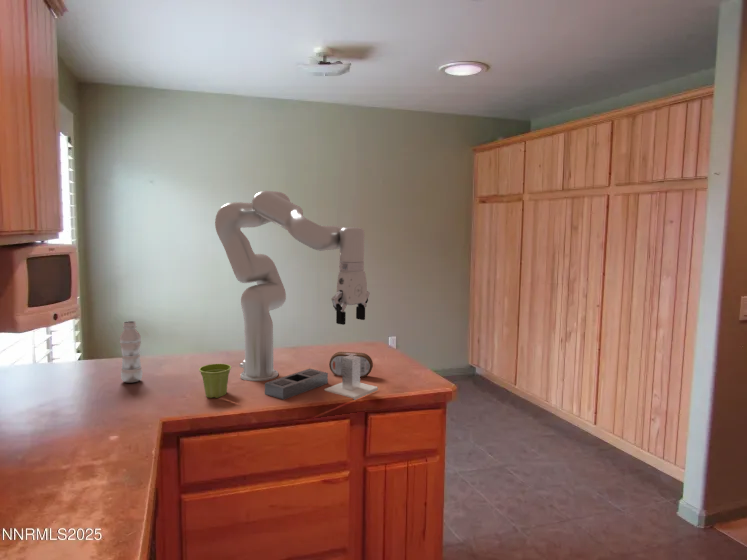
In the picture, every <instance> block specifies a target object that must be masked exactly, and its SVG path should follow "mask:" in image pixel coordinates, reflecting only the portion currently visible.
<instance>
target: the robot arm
mask: <svg viewBox="0 0 747 560" xmlns="http://www.w3.org/2000/svg"><path fill="white" fill-rule="evenodd" d="M251 200H252V201H251V202H244V201H243V202H242V201H239V202H237V201H235V202H227V203H225V204H223V205H221V207H220V208H219V209H218V211H216V215H215V219H214V221H215V222H214V226H215V231H216V235H217V236H218V238H219V240H220V242H221V245H222V246H223V248H224V251H225V253H226V256H227V259H228V261H229V264H230V267H231V269H232V271H233V274H234V275H235V278H236V280H237V281H239V283H241V284H251V283H256V284H254V285H251V286H249V287H247V288H246V289H245V290H244V291H243V292H242V294H241V298H240V305H241V309H242V314H243V326H244V330H243V331H244V333H243V334H244V360H242V362H241V363H239V367H240V368H243V372H241V373H240V379H241V380H244V381H248V382H249V381H250V382H265V381H269V380H270V381H271V380H274V379H277V377H278V375H279V372H278V370H277V369H274V324H273V319H272V316H271V314H270V311H273V310H276V309H280V307H282V306H284V304H285V302H286V300H287V294H286V289H285V285H284V283H283V281H282V278H281V277H280V274H279V271H278V268H277V267H276V265H275V264H276V263H275V262H274V261H273V259H272V258H271V257H269V256H268V255H266V254H264V253H255V252H254V249H253V248H252V245H251V243H250V241H249V238H248V237H247V236H246V235H245V234H244V232H242V230H241V228H243V229H244V228H257V227H261V226H263V225H266V224H268V223H273V224H275V225H277V226H279V227H281V228H283V229H285V230H286V231H287V232H288V233H289V234H290V236H291V237H292V238H293V239H294V240H296V241H298V242H299V243H301V244H303V245H305V246H307V247H309V248H311V249H313V250H316V251H320V252H321V251H331V250H333V251H334V250H338V249H339V272H338V276H337V283H336V293H335V294H334V295H333V296H332V297H331V303H332V306H333V308H334V311H336V314H335V316H336V318H335V319H336V320H335V321H336V324H337V325H343V326H344V325H346V311H345V310H346V308H347V306H353V305H354V306H355V305H357V306H355V307H356V309H355V310H356V311H355V312H356V313H355V319H357V320H361V321H365V320H366V307H367V303H368V302H369V297H370V292H369V291H368V285H367V275H366V271H365V230H364V229H363V228H362V227H359V226H357V227H356V226H345V227H344V226H339V225H321V224H320V225H319V224H318V223H316V222H314V221H312V220H310V219H308V218H306V217H305V216H304V211H303V208H302V207H301V206H299V205H297V204H295V203H293V202H291V199H290V198H289V196H287V195H286V194H285V193H283V192H281V191H273V190H262V191H259V192H257V193H256V194H255V195H254V196H253V197H252V199H251Z"/></svg>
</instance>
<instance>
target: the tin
mask: <svg viewBox="0 0 747 560" xmlns="http://www.w3.org/2000/svg"><path fill="white" fill-rule="evenodd" d="M349 355H353V356H358V357H360V377H361V378H365V377H367V376H369V374H370V373H371V372H372V370H373V367H374V363H373V359H372V357H371V356H370V355H368V354H367V353H366V352H365V353H364V352H350V351H338V352H335V353H333V355H332V356H331V357H330V359H329V362H328V363H329V370H330V371H331V373H332V374H333V375H335V376H342V363H343V357H345V356H349Z"/></svg>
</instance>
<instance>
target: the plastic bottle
mask: <svg viewBox="0 0 747 560" xmlns="http://www.w3.org/2000/svg"><path fill="white" fill-rule="evenodd" d="M122 327H123V331H122V332H121V333H120V336H119V344H120V349H121V358H122V359H121V370H120V379H121V380H122V382H124V383H127V384H128V383H130V384H131V383H137V382H140V381H141V380H142V378H143V369H142V365H141V344H142V343H141V342H142V336H141V334H140V332H139V331H137V323H136V321H134V320H128V321H123V325H122Z"/></svg>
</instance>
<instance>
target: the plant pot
mask: <svg viewBox="0 0 747 560" xmlns="http://www.w3.org/2000/svg"><path fill="white" fill-rule="evenodd" d="M231 370H232V365H230V364H227V363H211V364H206V365H203V366H201V367H199V368H198V371H199V372H200V375H201V376H202V380H203V381H202V384H203V388H204V394H205V396H206V398H209V399H212V398H216V399H219V398H221V397H222V396H225V395H226V394H227V391H228V382H229V374H230V371H231Z"/></svg>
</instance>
